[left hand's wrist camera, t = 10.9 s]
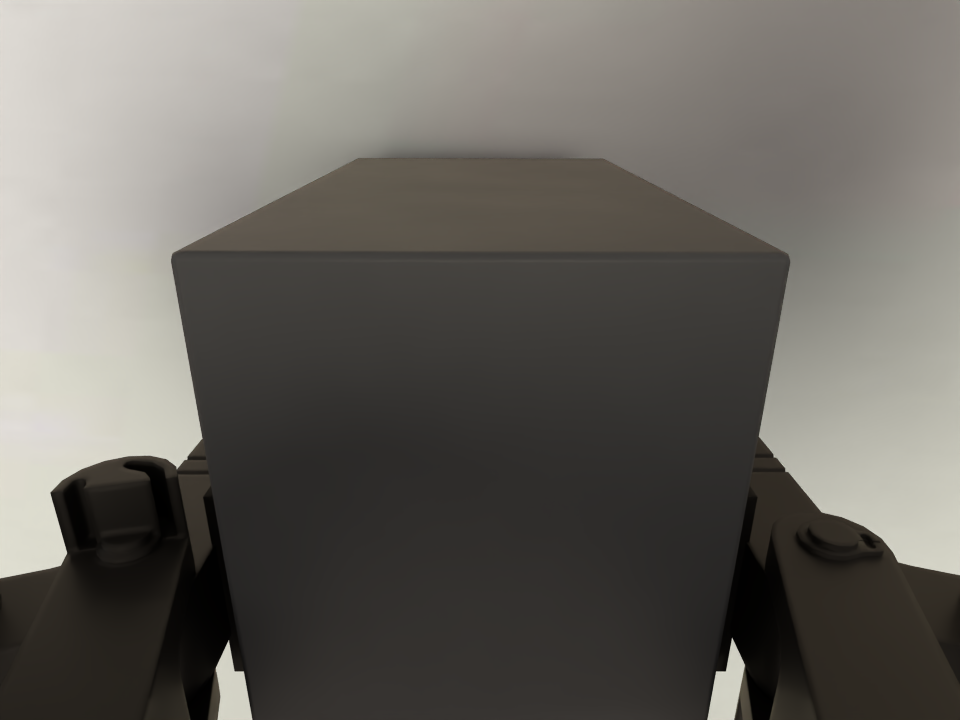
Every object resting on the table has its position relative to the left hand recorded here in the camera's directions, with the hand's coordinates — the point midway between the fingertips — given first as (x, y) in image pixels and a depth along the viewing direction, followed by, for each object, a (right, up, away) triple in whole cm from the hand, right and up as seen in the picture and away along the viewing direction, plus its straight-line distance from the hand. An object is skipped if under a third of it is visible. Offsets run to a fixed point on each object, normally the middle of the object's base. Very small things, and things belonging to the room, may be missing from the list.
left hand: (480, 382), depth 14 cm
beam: (0, -32, +14) cm, 35 cm away
